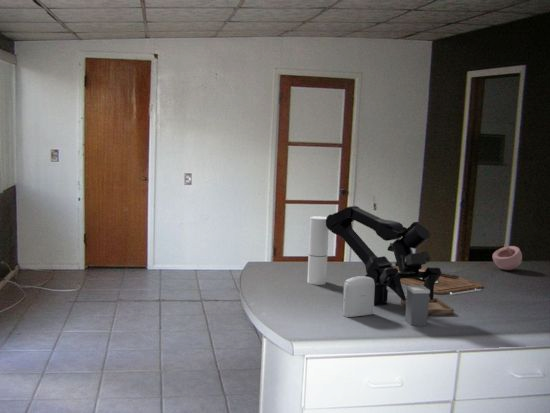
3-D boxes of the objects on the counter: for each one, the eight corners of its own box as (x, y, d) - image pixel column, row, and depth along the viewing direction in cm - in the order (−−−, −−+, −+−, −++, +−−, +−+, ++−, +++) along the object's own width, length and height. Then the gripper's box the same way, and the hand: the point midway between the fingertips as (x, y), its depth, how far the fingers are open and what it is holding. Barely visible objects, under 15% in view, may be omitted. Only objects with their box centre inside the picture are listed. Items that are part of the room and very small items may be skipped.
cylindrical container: (326, 280, 216) (329, 216, 213) (325, 285, 209) (329, 219, 206) (307, 279, 217) (310, 215, 214) (306, 284, 210) (309, 218, 207)
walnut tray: (415, 315, 177) (415, 309, 177) (400, 303, 190) (400, 297, 190) (453, 314, 179) (453, 309, 179) (436, 302, 192) (436, 297, 191)
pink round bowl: (485, 267, 250) (487, 242, 249) (507, 266, 254) (510, 241, 252) (504, 273, 239) (506, 247, 237) (526, 272, 242) (529, 246, 241)
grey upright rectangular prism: (410, 325, 167) (413, 290, 166) (404, 320, 172) (406, 285, 171) (427, 325, 168) (430, 290, 166) (420, 319, 173) (423, 285, 171)
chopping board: (361, 270, 238) (361, 263, 237) (407, 265, 251) (408, 258, 251) (440, 298, 199) (441, 289, 199) (490, 290, 213) (491, 282, 212)
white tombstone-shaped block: (347, 318, 171) (349, 279, 170) (340, 314, 175) (342, 276, 174) (375, 315, 176) (377, 277, 174) (367, 311, 180) (370, 273, 178)
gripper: (385, 242, 170) (399, 287, 160) (441, 241, 174) (457, 285, 165) (374, 261, 178) (386, 305, 169) (427, 260, 182) (442, 303, 173)
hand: (418, 299), depth 169 cm, fingers open, 9 cm apart
